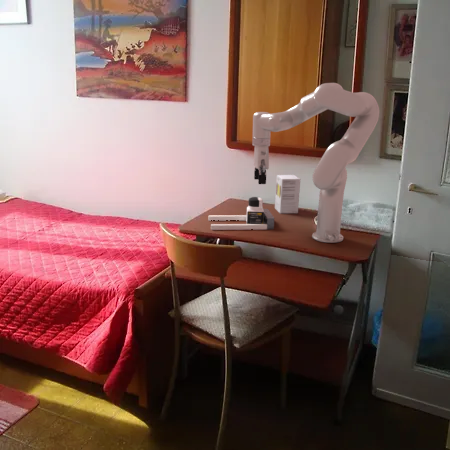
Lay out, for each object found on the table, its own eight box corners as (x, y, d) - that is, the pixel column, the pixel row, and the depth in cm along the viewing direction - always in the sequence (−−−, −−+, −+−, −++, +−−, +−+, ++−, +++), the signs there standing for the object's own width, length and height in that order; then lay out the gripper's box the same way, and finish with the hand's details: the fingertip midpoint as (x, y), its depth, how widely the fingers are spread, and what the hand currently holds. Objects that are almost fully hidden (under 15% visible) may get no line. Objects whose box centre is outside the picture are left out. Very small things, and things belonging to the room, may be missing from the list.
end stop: (273, 229, 230) (274, 218, 228) (266, 229, 229) (267, 218, 228) (267, 219, 244) (267, 208, 242) (260, 219, 244) (261, 208, 242)
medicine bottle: (246, 226, 233) (247, 199, 229) (246, 221, 240) (247, 195, 236) (263, 226, 233) (264, 200, 229) (262, 222, 240) (263, 196, 236)
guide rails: (266, 229, 229) (267, 224, 229) (211, 229, 227) (211, 225, 226) (260, 219, 244) (261, 215, 243) (208, 219, 241) (208, 215, 240)
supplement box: (274, 208, 263) (276, 174, 258) (292, 207, 264) (294, 174, 260) (279, 213, 254) (282, 178, 249) (298, 213, 255) (300, 178, 251)
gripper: (274, 144, 219) (272, 185, 223) (265, 139, 235) (264, 177, 240) (256, 144, 218) (254, 186, 222) (249, 139, 234) (248, 177, 239)
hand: (259, 181), depth 231 cm, fingers open, 9 cm apart
